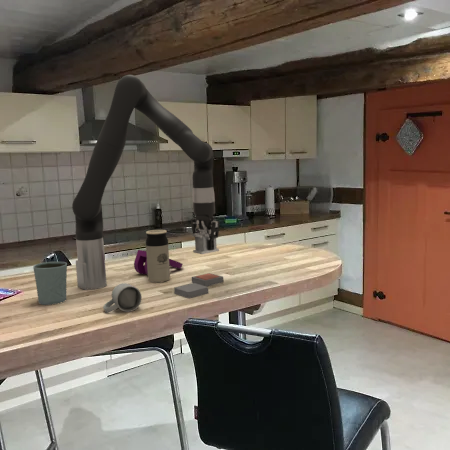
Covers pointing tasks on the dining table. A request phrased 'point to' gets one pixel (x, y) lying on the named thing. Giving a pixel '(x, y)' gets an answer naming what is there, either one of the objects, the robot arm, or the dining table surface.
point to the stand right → (207, 279)
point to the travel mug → (157, 256)
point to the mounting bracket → (142, 259)
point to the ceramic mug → (124, 298)
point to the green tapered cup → (51, 282)
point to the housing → (203, 243)
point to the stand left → (191, 290)
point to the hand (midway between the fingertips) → (206, 248)
